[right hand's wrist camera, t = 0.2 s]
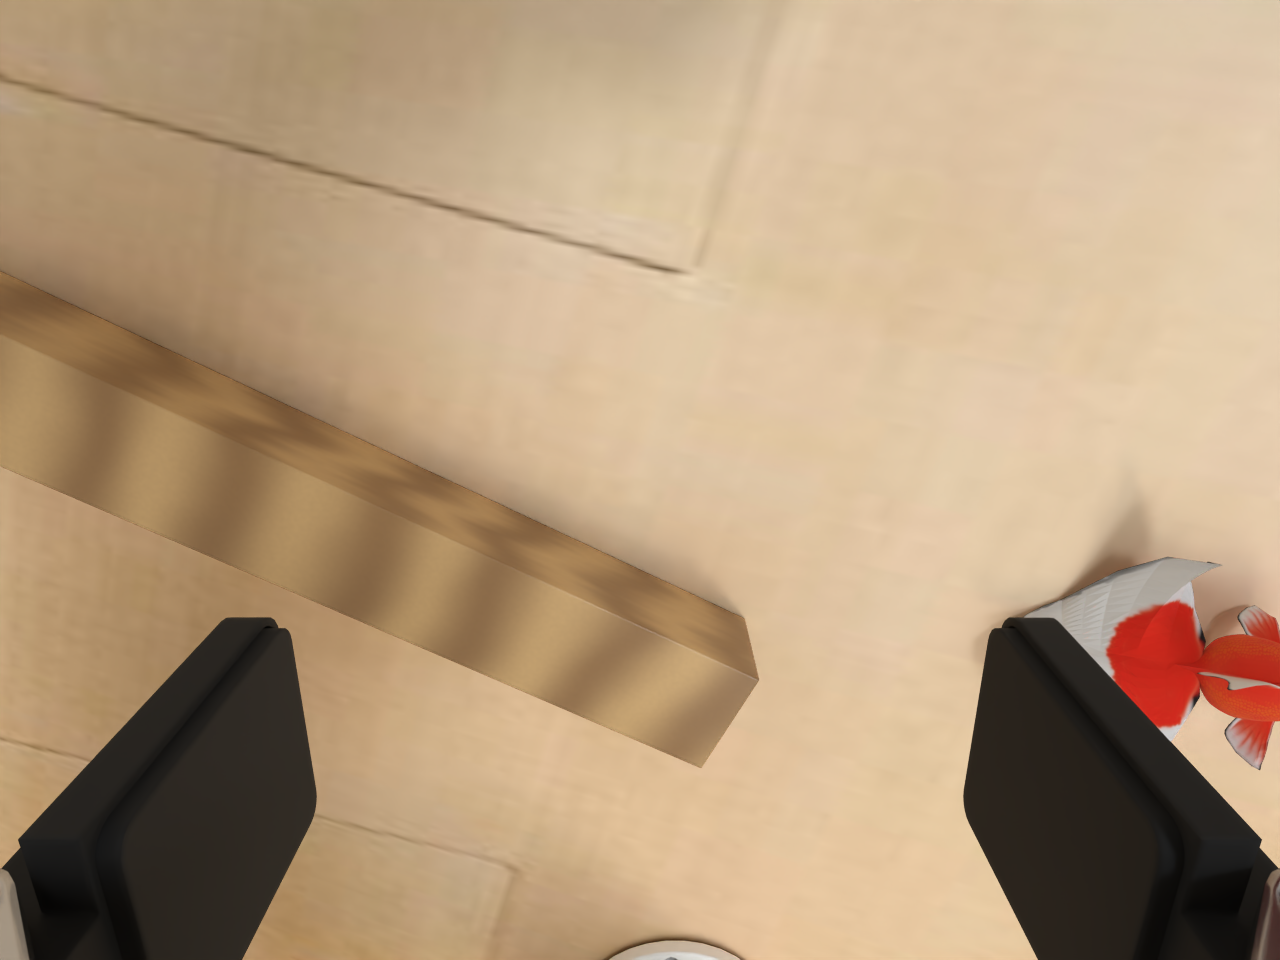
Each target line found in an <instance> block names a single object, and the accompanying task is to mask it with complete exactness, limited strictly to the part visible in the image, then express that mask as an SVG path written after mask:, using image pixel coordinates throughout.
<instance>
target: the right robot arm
mask: <svg viewBox="0 0 1280 960" xmlns="http://www.w3.org/2000/svg"><path fill="white" fill-rule="evenodd" d="M316 798H317V795H316V786H315V780H314V774H313V768H312V761H311V755H310V749H309V743H308V737H307V731H306V725H305V718H304V712H303V706H302V700H301V694H300V688H299V681H298V675H297V669H296V663H295V657H294V651H293V645H292V639H291V635H290V633H289V631H288V630H287V629H285V628H278V625H277V624H276V622H275V620H274V619H272V618H225V619H224V620H223V621H221V622H220V623H219V624H218V626H217V627H216V628H215V629H214V630H213V631H212V632H211V633H210V634H209V635H208V636H207V637H206V638H205V639H204V641H203V642H202V643H201V644H200V645H199V646H198V647H197V648H196V649H195V650H194V651H193V652H192V653H191V655H190V656H189V657H188V658H187V659H186V660H185V661H184V662H183V663H182V664H181V665H180V666H179V667H178V668H177V670H176V671H175V672H174V673H173V674H172V675H171V676H170V677H169V678H168V679H167V680H166V681H165V682H164V684H163V685H162V686H161V687H160V688H159V689H158V690H157V691H156V692H155V693H154V694H153V695H152V696H151V697H150V699H149V700H148V701H147V702H146V703H145V704H144V705H143V706H142V707H141V708H140V709H139V710H138V711H137V713H136V714H135V715H134V716H133V717H132V718H131V719H130V720H129V721H128V722H127V723H126V724H125V725H124V726H123V728H122V729H121V730H120V731H119V732H118V733H117V734H116V735H115V736H114V737H113V738H112V739H111V740H110V742H109V743H108V744H107V745H106V746H105V747H104V748H103V749H102V750H101V751H100V752H99V753H98V754H97V755H96V757H95V758H94V759H93V760H92V761H91V762H90V763H89V764H88V765H87V766H86V767H85V768H84V769H83V771H82V772H81V773H80V774H79V775H78V776H77V777H76V778H75V779H74V780H73V781H72V782H71V783H70V784H69V786H68V787H67V788H66V789H65V790H64V791H63V792H62V793H61V794H60V795H59V796H58V797H57V798H56V799H55V801H54V802H53V803H52V804H51V805H50V806H49V807H48V808H47V809H46V810H45V811H44V812H43V813H42V815H41V816H40V817H39V818H38V819H37V820H36V821H35V822H34V823H33V824H32V825H31V826H30V827H29V828H28V830H27V831H26V832H25V833H24V834H23V835H22V836H21V837H20V838H19V839H18V841H19V844H20V847H21V848H20V849H19V850H18V851H17V852H16V853H15V854H14V855H13V856H12V858H11V859H10V860H9V861H8V862H7V863H6V864H5V865H4V866H3V867H2V868H0V960H242V959H243V957H244V955H245V953H246V951H247V949H248V947H249V945H250V943H251V941H252V939H253V937H254V935H255V933H256V931H257V929H258V927H259V925H260V923H261V921H262V919H263V917H264V915H265V913H266V911H267V909H268V907H269V905H270V903H271V901H272V899H273V897H274V895H275V893H276V891H277V889H278V887H279V885H280V883H281V881H282V879H283V877H284V875H285V874H286V872H287V870H288V868H289V866H290V864H291V862H292V860H293V858H294V856H295V854H296V852H297V850H298V848H299V846H300V844H301V842H302V840H303V838H304V836H305V834H306V832H307V830H308V828H309V826H310V824H311V822H312V819H313V817H314V813H315V808H316ZM963 798H964V808H965V813H966V817H967V819H968V822H969V824H970V826H971V828H972V830H973V832H974V834H975V836H976V838H977V840H978V842H979V844H980V846H981V848H982V850H983V852H984V854H985V856H986V858H987V860H988V862H989V864H990V866H991V868H992V870H993V872H994V874H995V875H996V877H997V879H998V881H999V883H1000V885H1001V887H1002V889H1003V891H1004V893H1005V895H1006V897H1007V899H1008V901H1009V903H1010V905H1011V907H1012V909H1013V911H1014V913H1015V915H1016V917H1017V919H1018V921H1019V923H1020V925H1021V927H1022V929H1023V931H1024V933H1025V935H1026V937H1027V939H1028V941H1029V943H1030V945H1031V947H1032V949H1033V951H1034V953H1035V955H1036V957H1037V959H1038V960H1280V868H1278V867H1277V866H1276V865H1275V864H1274V863H1273V862H1272V861H1271V860H1270V859H1269V858H1268V856H1267V855H1266V854H1265V853H1264V852H1263V851H1262V850H1261V849H1260V848H1259V847H1260V844H1261V841H1262V839H1261V838H1260V837H1259V836H1258V835H1257V834H1256V833H1255V832H1254V831H1253V830H1252V828H1251V827H1250V826H1249V825H1248V824H1247V823H1246V822H1245V821H1244V820H1243V819H1242V818H1241V817H1240V816H1239V815H1238V813H1237V812H1236V811H1235V810H1234V809H1233V808H1232V807H1231V806H1230V805H1229V804H1228V803H1227V802H1226V801H1225V799H1224V798H1223V797H1222V796H1221V795H1220V794H1219V793H1218V792H1217V791H1216V790H1215V789H1214V788H1213V787H1212V786H1211V784H1210V783H1209V782H1208V781H1207V780H1206V779H1205V778H1204V777H1203V776H1202V775H1201V774H1200V773H1199V772H1198V771H1197V769H1196V768H1195V767H1194V766H1193V765H1192V764H1191V763H1190V762H1189V761H1188V760H1187V759H1186V758H1185V757H1184V755H1183V754H1182V753H1181V752H1180V751H1179V750H1178V749H1177V748H1176V747H1175V746H1174V745H1173V744H1172V743H1171V742H1170V740H1169V739H1168V738H1167V737H1166V736H1165V735H1164V734H1163V733H1162V732H1161V731H1160V730H1159V729H1158V728H1157V726H1156V725H1155V724H1154V723H1153V722H1152V721H1151V720H1150V719H1149V718H1148V717H1147V716H1146V715H1145V714H1144V713H1143V711H1142V710H1141V709H1140V708H1139V707H1138V706H1137V705H1136V704H1135V703H1134V702H1133V701H1132V700H1131V699H1130V697H1129V696H1128V695H1127V694H1126V693H1125V692H1124V691H1123V690H1122V689H1121V688H1120V687H1119V686H1118V685H1117V684H1116V682H1115V681H1114V680H1113V679H1112V678H1111V677H1110V676H1109V675H1108V674H1107V673H1106V672H1105V671H1104V670H1103V668H1102V667H1101V666H1100V665H1099V664H1098V663H1097V662H1096V661H1095V660H1094V659H1093V658H1092V657H1091V656H1090V655H1089V653H1088V652H1087V651H1086V650H1085V649H1084V648H1083V647H1082V646H1081V645H1080V644H1079V643H1078V642H1077V641H1076V639H1075V638H1074V637H1073V636H1072V635H1071V634H1070V633H1069V632H1068V631H1067V630H1066V629H1065V628H1064V627H1063V626H1062V624H1061V623H1060V622H1059V621H1057V620H1056V619H1055V618H1008V619H1006V620H1005V622H1004V624H1003V625H1002V628H995V629H993V630H992V631H991V633H990V635H989V639H988V645H987V651H986V657H985V663H984V669H983V675H982V681H981V688H980V694H979V700H978V706H977V712H976V718H975V725H974V731H973V737H972V743H971V749H970V755H969V761H968V768H967V774H966V780H965V786H964V795H963ZM609 960H740V959H739V958H738V957H736V956H734V955H732V954H730V953H728V952H726V951H724V950H722V949H720V948H717V947H713V946H710V945H707V944H703V943H697V942H690V941H660V942H653V943H647V944H643V945H640V946H637V947H633V948H630V949H628V950H626V951H624V952H622V953H619V954H617V955H615V956H613V957H612V958H610V959H609Z"/></svg>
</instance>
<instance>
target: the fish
mask: <svg viewBox="0 0 1280 960" xmlns="http://www.w3.org/2000/svg"><path fill="white" fill-rule="evenodd" d="M1218 566H1221V565H1220V564H1216V563H1211V562H1207V563H1206V562H1199V561H1192V560H1186V559H1179V558H1172V557H1165V558H1162V559H1158V560H1155V561H1151V562H1148V563H1144V564H1141V565H1137V566H1133V567H1130V568H1126V569H1123V570H1119V571H1117V572H1115V573H1113V574H1111V575H1109V576H1107V577H1105V578H1103V579H1101V580H1099V581H1097V582H1095V583H1093V584H1091V585H1089V586H1087V587H1085V588H1083V589H1081V590H1079V591H1077V592H1075V593H1073V594H1071V595H1069V596H1068V597H1066V598H1064V599H1062V600H1059V601H1056V602H1053V603H1051V604H1048V605H1045V606H1043V607H1041V608H1039V609H1037V610H1035V611H1033V612H1031V613H1029V614H1027V615H1025V616H1024V617H1023V618H1055V619H1056V620H1057V621H1059V622H1060V623H1061V624H1062V626H1063V627H1064V628H1065V629H1066V630H1067V631H1068V632H1069V633H1070V634H1071V635H1072V636H1073V637H1074V638H1075V639H1076V641H1077V642H1078V643H1079V644H1080V645H1081V646H1082V647H1083V648H1084V649H1085V650H1086V651H1087V652H1088V653H1089V655H1090V656H1091V657H1092V658H1093V659H1094V660H1095V661H1096V662H1097V663H1098V664H1099V665H1100V666H1101V667H1102V668H1103V670H1104V671H1105V672H1106V673H1107V674H1108V675H1109V676H1110V677H1111V678H1112V679H1113V680H1114V681H1115V682H1116V684H1117V685H1118V686H1119V687H1120V688H1121V689H1122V690H1123V691H1124V692H1125V693H1126V694H1127V695H1128V696H1129V697H1130V699H1131V700H1132V701H1133V702H1134V703H1135V704H1136V705H1137V706H1138V707H1139V708H1140V709H1141V710H1142V711H1143V713H1144V714H1145V715H1146V716H1147V717H1148V718H1149V719H1150V720H1151V721H1152V722H1153V723H1154V724H1155V725H1156V726H1157V728H1158V729H1159V730H1160V731H1161V732H1162V733H1163V734H1164V735H1165V736H1166V737H1167V738H1168V739H1169V740H1170V742H1171V741H1172V740H1173V738H1174V737H1175V735H1176V734H1177V733H1178V731H1179V730H1180V728H1181V727H1182V725H1183V723H1184V722H1185V720H1186V719H1187V717H1188V715H1189V714H1190V712H1191V711H1192V709H1193V707H1194V706H1195V704H1196V702H1197V701H1198V699H1199V697H1200V689H1201V691H1202V693H1203V694H1204V696H1205V698H1206V699H1207V701H1208V702H1209V703H1210V704H1211V705H1213V706H1214V707H1215V708H1217V709H1218V710H1220V711H1222V712H1224V713H1226V714H1228V715H1230V716H1233V717H1236V718H1235V719H1234V720H1233V721H1232V722H1231V723H1230V724H1229V725H1228V726H1227V728H1226V729H1225V736H1226V738H1227V740H1228V741H1229V743H1230V744H1231V746H1232V747H1233V749H1234V750H1235V752H1236V753H1237V754H1238V755H1239V756H1241V757H1242V758H1243V759H1244V760H1245V761H1246V762H1248V763H1249V764H1250V765H1251V766H1253V767H1255V768H1257V769H1258V770H1260V769H1261V764H1262V762H1263V759H1264V757H1265V754H1266V750H1267V746H1268V741H1269V738H1270V735H1271V732H1272V727H1273V725H1274V722H1275V721H1280V630H1279V625H1278V623H1277V620H1276V618H1274V617H1272V616H1270V615H1268V614H1267V613H1265V612H1264V611H1262V610H1261V609H1260V608H1258V607H1257V606H1255V605H1254V606H1251V607H1247V608H1245V609H1244V610H1243V611H1242V612H1241V613H1240V614H1239V615H1238V620H1239V622H1240V623H1241V625H1242V627H1243V629H1244V631H1245V633H1246V634H1247V635H1244V634H1237V635H1229V636H1224V637H1221V638H1218V639H1216V640H1214V641H1213V642H1212V643H1211V644H1209V645H1208V647H1207V648H1206V649H1205V650H1204V647H1205V642H1206V641H1205V638H1204V634H1203V631H1202V628H1201V625H1200V622H1199V619H1198V616H1197V613H1196V610H1195V605H1194V594H1193V589H1192V584H1191V580H1193V579H1195V578H1196V577H1198V576H1199V575H1201V574H1203V573H1205V572H1207V571H1208V570H1210V569H1212V568H1215V567H1218Z"/></svg>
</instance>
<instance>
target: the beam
mask: <svg viewBox="0 0 1280 960" xmlns="http://www.w3.org/2000/svg"><path fill="white" fill-rule="evenodd" d="M0 466H1V467H3V468H6V469H8V470H10V471H13V472H15V473H17V474H20V475H22V476H24V477H27V478H29V479H31V480H34V481H36V482H38V483H41V484H43V485H45V486H47V487H50V488H52V489H54V490H57V491H59V492H61V493H64V494H66V495H68V496H71V497H73V498H75V499H78V500H80V501H82V502H85V503H87V504H89V505H92V506H94V507H96V508H99V509H101V510H103V511H105V512H108V513H110V514H112V515H115V516H117V517H119V518H122V519H124V520H126V521H129V522H131V523H133V524H136V525H138V526H140V527H143V528H145V529H147V530H150V531H152V532H154V533H157V534H159V535H161V536H163V537H166V538H168V539H170V540H173V541H175V542H177V543H180V544H182V545H184V546H187V547H189V548H191V549H194V550H196V551H198V552H201V553H203V554H205V555H208V556H210V557H212V558H215V559H217V560H219V561H221V562H224V563H226V564H228V565H231V566H233V567H235V568H238V569H240V570H242V571H245V572H247V573H249V574H252V575H254V576H256V577H259V578H261V579H263V580H266V581H268V582H270V583H273V584H275V585H277V586H279V587H282V588H284V589H286V590H289V591H291V592H293V593H296V594H298V595H300V596H303V597H305V598H307V599H310V600H312V601H314V602H317V603H319V604H321V605H324V606H326V607H328V608H331V609H333V610H335V611H337V612H340V613H342V614H344V615H347V616H349V617H351V618H354V619H356V620H358V621H361V622H363V623H365V624H368V625H370V626H372V627H375V628H377V629H379V630H382V631H384V632H386V633H389V634H391V635H393V636H395V637H398V638H400V639H402V640H405V641H407V642H409V643H412V644H414V645H416V646H419V647H421V648H423V649H426V650H428V651H430V652H433V653H435V654H437V655H440V656H442V657H444V658H447V659H449V660H451V661H453V662H456V663H458V664H460V665H463V666H465V667H467V668H470V669H472V670H474V671H477V672H479V673H481V674H484V675H486V676H488V677H491V678H493V679H495V680H498V681H500V682H502V683H505V684H507V685H509V686H511V687H514V688H516V689H518V690H521V691H523V692H525V693H528V694H530V695H532V696H535V697H537V698H539V699H542V700H544V701H546V702H549V703H551V704H553V705H556V706H558V707H560V708H563V709H565V710H567V711H569V712H572V713H574V714H576V715H579V716H581V717H583V718H586V719H588V720H590V721H593V722H595V723H597V724H600V725H602V726H604V727H607V728H609V729H611V730H614V731H616V732H618V733H621V734H623V735H625V736H627V737H630V738H632V739H634V740H637V741H639V742H641V743H644V744H646V745H648V746H651V747H653V748H655V749H658V750H660V751H662V752H665V753H667V754H669V755H672V756H674V757H676V758H679V759H681V760H683V761H685V762H688V763H690V764H692V765H695V766H697V767H699V768H702V766H703V765H704V763H705V762H706V760H707V759H708V757H709V756H710V754H711V753H712V751H713V750H714V748H715V747H716V745H717V743H718V742H719V740H720V739H721V737H722V736H723V734H724V733H725V731H726V730H727V728H728V727H729V725H730V724H731V722H732V721H733V719H734V718H735V716H736V714H737V713H738V711H739V710H740V708H741V707H742V705H743V704H744V702H745V701H746V699H747V698H748V696H749V695H750V693H751V692H752V690H753V689H754V687H755V686H756V684H757V682H758V681H759V677H758V673H757V669H756V664H755V660H754V656H753V652H752V648H751V643H750V639H749V635H748V631H747V626H746V622H745V619H744V618H742V617H740V616H738V615H736V614H734V613H731V612H729V611H727V610H725V609H723V608H721V607H719V606H716V605H714V604H712V603H710V602H708V601H706V600H704V599H701V598H699V597H697V596H695V595H693V594H691V593H689V592H686V591H684V590H682V589H680V588H678V587H676V586H674V585H671V584H669V583H667V582H665V581H663V580H661V579H659V578H656V577H654V576H652V575H650V574H648V573H646V572H644V571H641V570H639V569H637V568H635V567H633V566H631V565H629V564H626V563H624V562H622V561H620V560H618V559H616V558H614V557H611V556H609V555H607V554H605V553H603V552H601V551H599V550H596V549H594V548H592V547H590V546H588V545H586V544H584V543H581V542H579V541H577V540H575V539H573V538H571V537H569V536H566V535H564V534H562V533H560V532H558V531H556V530H554V529H551V528H549V527H547V526H545V525H543V524H541V523H539V522H536V521H534V520H532V519H530V518H528V517H526V516H524V515H521V514H519V513H517V512H515V511H513V510H511V509H509V508H506V507H504V506H502V505H500V504H498V503H496V502H494V501H491V500H489V499H487V498H485V497H483V496H481V495H479V494H476V493H474V492H472V491H470V490H468V489H466V488H464V487H461V486H459V485H457V484H455V483H453V482H451V481H449V480H446V479H444V478H442V477H440V476H438V475H436V474H434V473H431V472H429V471H427V470H425V469H423V468H421V467H419V466H416V465H414V464H412V463H410V462H408V461H406V460H404V459H401V458H399V457H397V456H395V455H393V454H391V453H389V452H386V451H384V450H382V449H380V448H378V447H376V446H374V445H371V444H369V443H367V442H365V441H363V440H361V439H359V438H356V437H354V436H352V435H350V434H348V433H346V432H344V431H341V430H339V429H337V428H335V427H333V426H331V425H329V424H326V423H324V422H322V421H320V420H318V419H316V418H314V417H311V416H309V415H307V414H305V413H303V412H301V411H299V410H296V409H294V408H292V407H290V406H288V405H286V404H284V403H281V402H279V401H277V400H275V399H273V398H271V397H269V396H266V395H264V394H262V393H260V392H258V391H256V390H254V389H251V388H249V387H247V386H245V385H243V384H241V383H239V382H236V381H234V380H232V379H230V378H228V377H226V376H224V375H221V374H219V373H217V372H215V371H213V370H211V369H209V368H206V367H204V366H202V365H200V364H198V363H196V362H194V361H191V360H189V359H187V358H185V357H183V356H181V355H179V354H176V353H174V352H172V351H170V350H168V349H166V348H164V347H161V346H159V345H157V344H155V343H153V342H151V341H149V340H146V339H144V338H142V337H140V336H138V335H136V334H134V333H131V332H129V331H127V330H125V329H123V328H121V327H119V326H116V325H114V324H112V323H110V322H108V321H106V320H104V319H101V318H99V317H97V316H95V315H93V314H91V313H89V312H86V311H84V310H82V309H80V308H78V307H76V306H74V305H71V304H69V303H67V302H65V301H63V300H61V299H59V298H56V297H54V296H52V295H50V294H48V293H46V292H44V291H41V290H39V289H37V288H35V287H33V286H31V285H29V284H26V283H24V282H22V281H20V280H18V279H16V278H14V277H11V276H9V275H7V274H5V273H3V272H1V271H0Z"/></svg>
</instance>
